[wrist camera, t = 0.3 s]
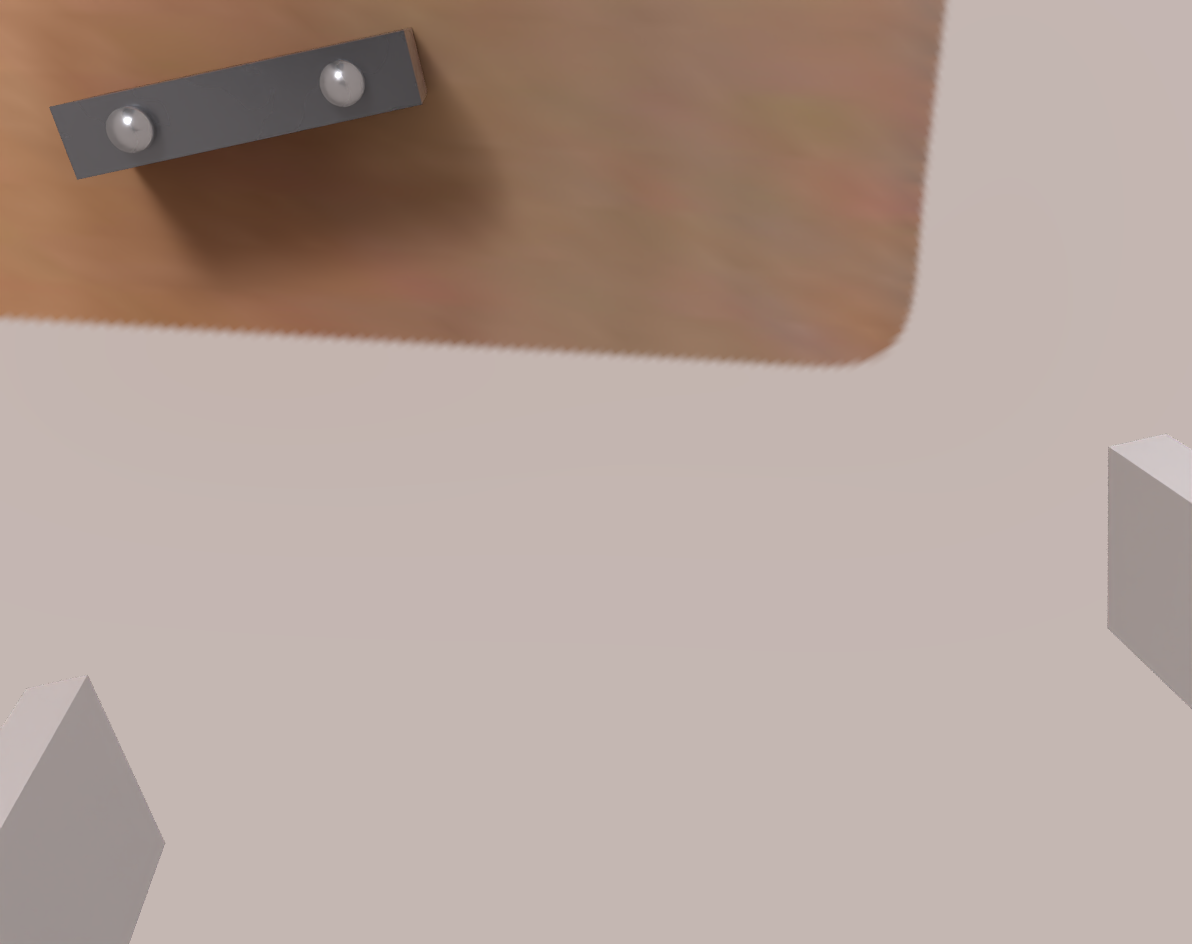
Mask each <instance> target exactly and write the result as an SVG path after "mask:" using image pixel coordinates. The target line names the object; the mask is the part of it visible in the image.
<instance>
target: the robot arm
mask: <svg viewBox="0 0 1192 944" xmlns="http://www.w3.org/2000/svg"><path fill="white" fill-rule="evenodd" d="M1108 448H1109V449H1108V452H1109V453H1108V629H1109V630H1110V631H1111V632H1112V633H1113V634H1114V635H1115V636H1116V637H1117V638H1118V639H1120V640H1121V641H1122V642H1123V643H1124V644H1125V645H1126V646H1127V647H1128V648H1129V649H1130V650H1131V651H1132V652H1133V653H1134V654H1135V655H1136V656H1137V657H1138V658H1139V659H1140V660H1141V661H1142V662H1143V663H1144V664H1145V665H1147V666H1148V667H1149V668H1150V669H1151V670H1152V671H1153V672H1154V673H1155V674H1156V675H1157V676H1158V677H1159V678H1160V679H1161V680H1162V681H1163V682H1164V683H1165V684H1166V685H1167V686H1168V687H1169V688H1170V689H1171V690H1172V691H1173V692H1175V693H1176V694H1177V695H1178V696H1179V697H1180V698H1181V699H1182V700H1183V701H1184V702H1185V703H1186V704H1187V705H1188V706H1189V707H1190V708H1191V709H1192V449H1191V448H1189V447H1188V446H1186V445H1184V444H1183V443H1181V442H1180V441H1178V440H1176V439H1175V438H1173V437H1171V436H1170V435H1168V434H1162V435H1158V436H1153V437H1149V438H1145V439H1140V440H1136V441H1131V442H1127V443H1122V444H1118V445H1113V446H1109V447H1108ZM164 845H165V842H164V840H163V837H162V835H161V833H160V831H159V829H158V826H157V824H156V822H155V820H154V818H153V816H152V813H151V811H150V809H149V807H148V805H147V803H146V800H145V798H144V796H143V794H142V792H141V790H140V787H139V785H138V783H137V781H136V779H135V776H134V774H133V772H132V770H131V768H130V766H129V763H128V761H127V759H126V757H125V755H124V753H123V751H122V749H121V746H120V744H119V742H118V740H117V737H116V736H115V733H114V731H113V729H112V727H111V725H110V722H109V720H108V718H107V716H106V714H105V711H104V709H103V707H102V705H101V703H100V701H99V698H98V696H97V694H96V692H95V690H94V688H93V685H92V683H91V681H90V679H89V677H88V675H84V676H80V677H75V678H71V679H66V680H62V681H57V682H53V683H48V684H44V685H39V686H35V687H31V688H26V690H25V692H24V693H23V695H22V696H21V698H20V699H19V701H18V702H17V704H16V705H15V707H14V708H13V710H12V712H11V713H10V715H9V716H8V718H7V719H6V721H5V722H4V724H3V726H2V727H1V729H0V944H129V942H130V940H131V937H132V934H133V931H134V928H135V926H136V923H137V920H138V917H139V914H140V912H141V908H142V906H143V903H144V900H145V898H146V895H147V892H148V889H149V886H150V884H151V881H152V878H153V875H154V873H155V870H156V867H157V864H158V861H159V859H160V856H161V853H162V850H163V847H164Z"/></svg>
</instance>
